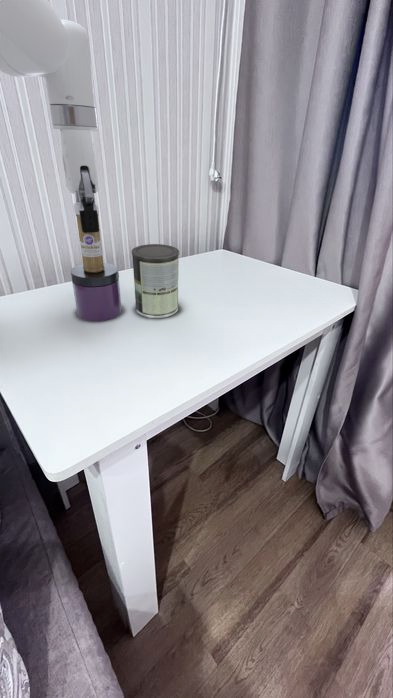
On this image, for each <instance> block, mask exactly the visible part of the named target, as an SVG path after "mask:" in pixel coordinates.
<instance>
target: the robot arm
mask: <svg viewBox="0 0 393 698" xmlns="http://www.w3.org/2000/svg"><path fill="white" fill-rule="evenodd" d="M0 72H2V73H4V74H6V75H8V76H11V77H16V78H30V77H33V78H34V77H35V78H36V77H37V78H44V80H45V87H46V93H47V100H48V105H49V111H50V118H51V125H52V129H53V130H54V129H55V130H59V139H60V150H61V157H62V163H63V170H64V179H65V186H66V188H67V190H68V191H69V192H70V193H71V194H74V196H75V203H77V202H80V208H81V211H79V212H80V219H81V226H82V231H83V232H84V233H91V232H99V226H100V223H99V224H98V217H99V216H98V215H97V210H96V198H95V194H96V193H97V192H98V191H99V182H98V181H99V180H98V170H97V161H96V152H95V144H94V137H93V131H95V132H99V128H98V127H99V126H98V117H97V106H96V98H95V89H94V88H95V87H94V75H93V65H92V55H91V45H90V40H89V35H88V32H87V30H86V29H85V27H84V26H83V25H81V24H80V23H77V22H75V21H73V20H69V19H63V18H60V16H59V14H58V13H57V11H56V10H55V8H54V7H53V5H52V4H51V3H50V1H49V0H0Z"/></svg>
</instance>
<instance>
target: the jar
mask: <svg viewBox="0 0 393 698" xmlns="http://www.w3.org/2000/svg"><path fill="white" fill-rule="evenodd" d="M71 285H72V290H73V296H74V301H75V306H76V308H75V309H76V312H77V313H76V314H77V316H78V317H79V318H80V319H81V320H84V321H87V322H105V321H109V320H110V321H111V320H113V319H115V318H117V317H119V316H120V315H121V314H122V311H123V310H122V309H123V308H122V298H121V287H120V277H119V278H118V280H117V281H115V282H114V283H111V284H108V285H104V286H95V287H90V286H81V285H78V284H75V283H74V282H73V281H72V280H71Z"/></svg>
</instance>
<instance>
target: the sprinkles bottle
mask: <svg viewBox="0 0 393 698" xmlns="http://www.w3.org/2000/svg"><path fill="white" fill-rule="evenodd" d="M95 203H96V202H95ZM73 209H74V215H75V217H76V224H77V233H78V239H79V248H80V249H79V250H80V254H81V259H82V264H83V270H84V271H86V272H92V273H95V272H101V271H103V270H104V268H105V267H104V263H105V262H104V252H103V251H104V250H103V243H102V234H101V233H102V232H101V228H100V219H99V216H100V215H99V213H100V210H99V209H100V208H99V204H98V203H96V210H97V215H98V224H99V232H91V233H84V232H83V231H82V226H81V219H80V212H79V211H81V208H80V202H77V203H76V202H75V203H73Z"/></svg>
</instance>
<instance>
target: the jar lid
mask: <svg viewBox="0 0 393 698" xmlns="http://www.w3.org/2000/svg"><path fill="white" fill-rule="evenodd" d="M103 263H104V267H105V268H104V270H103V271H101V272H95V273H92V272H86V271H84V270H83V263H81V264H78V265H75V266H73V267H72V268H71V269H70V277H71V282H72V281H73V282H74V283H75V284H78V285H81V286H90V287H95V286H104V285H108V284H111V283H114V282H115V281H117V280H118V278H119V279H120V273H119V268H118V267H117V266H116V265H115V264H112V263H108V262H103Z"/></svg>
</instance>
